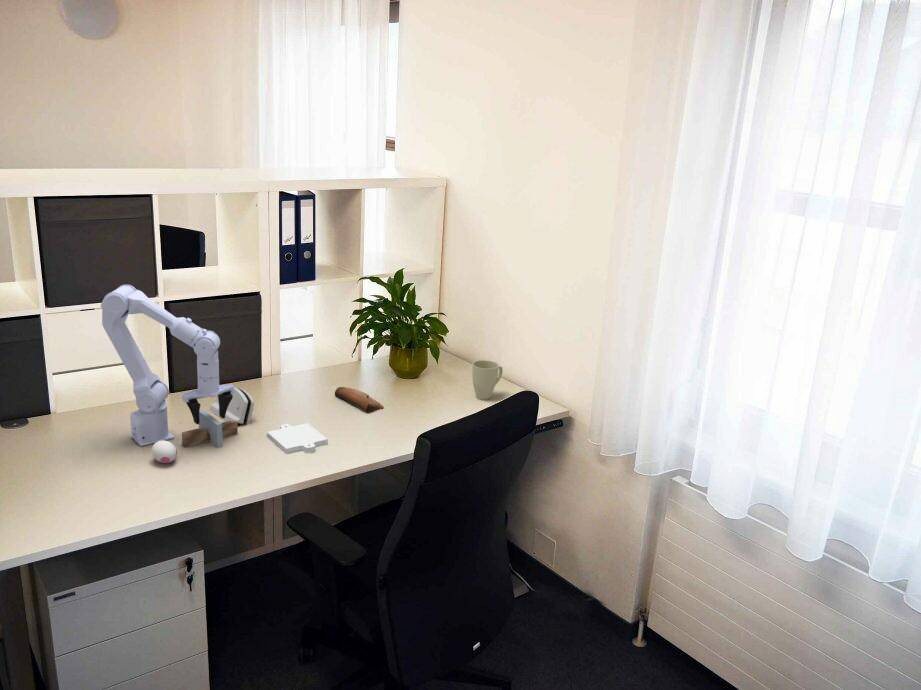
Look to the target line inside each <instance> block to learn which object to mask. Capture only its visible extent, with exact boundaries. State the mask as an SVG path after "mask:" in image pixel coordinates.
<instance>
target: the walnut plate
mask: <svg viewBox="0 0 921 690" xmlns="http://www.w3.org/2000/svg"><path fill="white" fill-rule="evenodd" d="M221 423H222V438H223V439H224V438H228V437H230V436H234V435H238V423H237V421H236V420H231V421H227V422H226V421H224V422H221ZM208 442H210V434H209V433H207V428H205V427H202V428H199V427H197V428H193V429H190V430H185V431H181V445H182V447H184V448H186V447H191V446H195V445H198V444H203V443H208Z"/></svg>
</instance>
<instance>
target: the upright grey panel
mask: <svg viewBox="0 0 921 690" xmlns="http://www.w3.org/2000/svg"><path fill="white" fill-rule="evenodd" d="M199 418H200V423H199V424H198V428H202V427H205V428H207V433H209V434H210V441H209V442H210V443H211V444H212V445H214V446H215V447H216V448H222V447H223V446H224V443H223V439H224V437H223V438H222V423H223V422H221V421H219V420H218V419H216V418H215V417H214V416H212V415H211V414H210V413H209V412H207V411H206V410H205V409H200V411H199Z"/></svg>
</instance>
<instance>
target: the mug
mask: <svg viewBox="0 0 921 690" xmlns="http://www.w3.org/2000/svg"><path fill="white" fill-rule="evenodd" d="M502 375H503V367H502V366H501V365H499V363H498V362H495V361H492V360H486V359H480V360H475V361H473V362H472V384H473V390H474V394H475V397H476V398H477V399H478V400H482V401H483V400H484V401H486V400H490V399H491V397H492V394H493V391H494V390H495V387H496V385H497V384H498V383H499V381H500V380H501V378H502Z"/></svg>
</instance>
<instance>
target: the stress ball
mask: <svg viewBox="0 0 921 690" xmlns="http://www.w3.org/2000/svg"><path fill="white" fill-rule="evenodd" d="M151 454H152V456H153V458H154V459H155V460H156V461H154V464H155V465H157V462H159V463H162V464H169V463H172V462H173V461H174V460H176V459H177V458H178V456H177V455H178V451H177V448H176V446H175V445H174V444H173V443H172V442H170V441H168V440H162V441H158V442H156V443H153V446H152V447H151Z"/></svg>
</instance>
